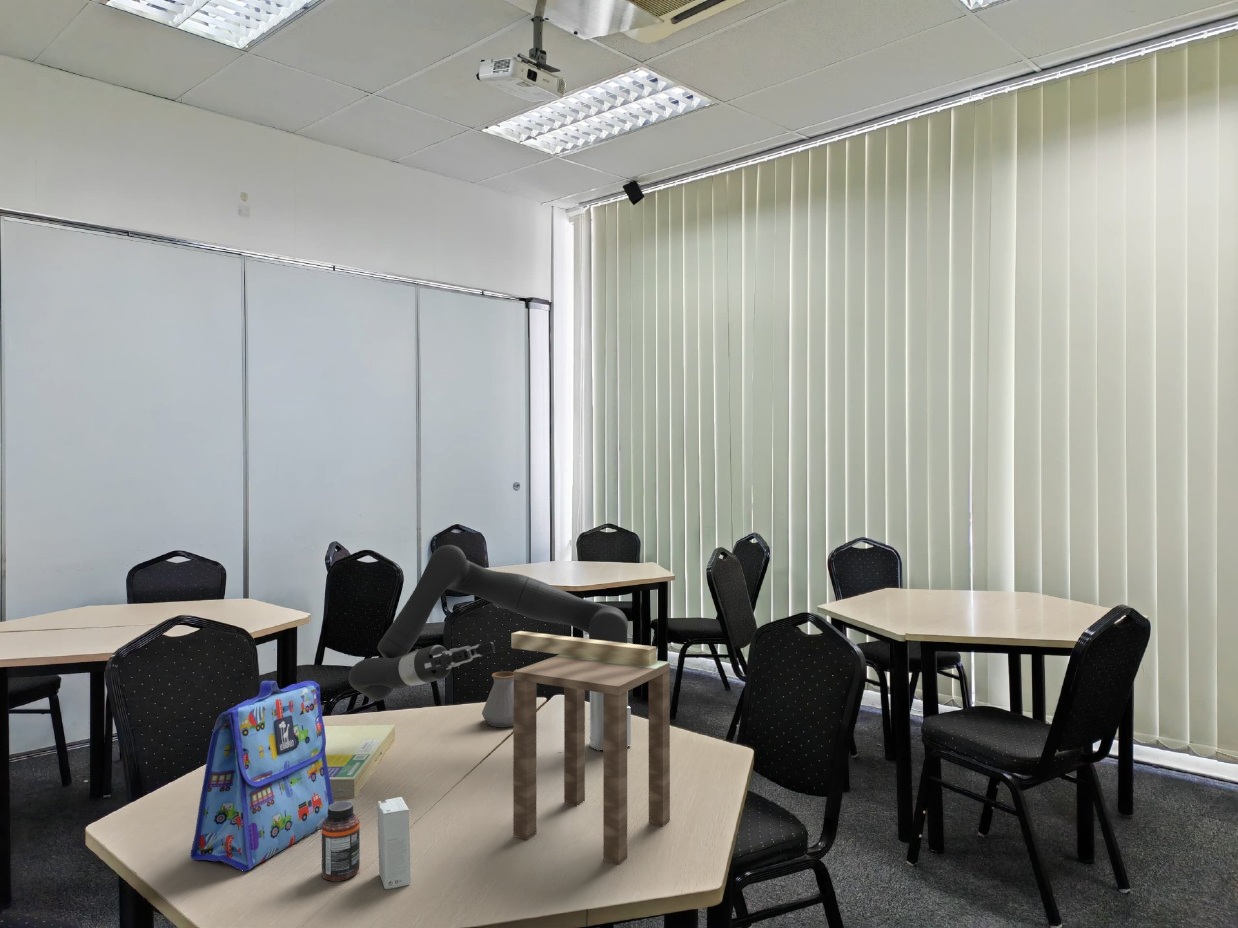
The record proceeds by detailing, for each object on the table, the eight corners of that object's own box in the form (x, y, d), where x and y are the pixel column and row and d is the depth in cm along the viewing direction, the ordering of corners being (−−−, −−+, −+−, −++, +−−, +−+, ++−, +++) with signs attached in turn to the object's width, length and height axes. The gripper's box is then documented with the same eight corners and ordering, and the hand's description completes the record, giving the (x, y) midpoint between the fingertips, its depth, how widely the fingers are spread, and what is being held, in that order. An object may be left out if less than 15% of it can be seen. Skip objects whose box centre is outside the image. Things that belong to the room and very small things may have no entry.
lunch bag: (249, 873, 133) (250, 698, 133) (187, 860, 137) (189, 691, 138) (338, 820, 153) (339, 669, 153) (281, 810, 158) (282, 663, 158)
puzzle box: (396, 742, 200) (298, 743, 199) (396, 724, 200) (298, 724, 199) (353, 802, 163) (233, 802, 163) (353, 779, 164) (233, 780, 163)
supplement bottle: (327, 865, 135) (327, 798, 136) (363, 864, 136) (363, 796, 136) (316, 883, 129) (317, 812, 130) (354, 881, 130) (354, 811, 130)
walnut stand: (513, 836, 146) (513, 670, 147) (572, 797, 164) (572, 649, 164) (618, 864, 136) (618, 686, 136) (669, 820, 153) (669, 661, 153)
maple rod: (511, 647, 166) (511, 633, 166) (520, 645, 169) (520, 630, 169) (649, 665, 151) (649, 649, 151) (656, 662, 153) (656, 646, 153)
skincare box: (411, 884, 129) (411, 808, 129) (383, 891, 127) (383, 814, 127) (404, 867, 135) (404, 795, 135) (376, 873, 133) (376, 799, 133)
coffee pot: (481, 730, 207) (481, 672, 207) (482, 717, 218) (482, 661, 218) (564, 726, 210) (564, 669, 210) (560, 713, 222) (560, 659, 222)
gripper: (398, 654, 173) (456, 638, 166) (441, 643, 185) (497, 627, 178) (406, 689, 171) (464, 674, 164) (449, 675, 184) (505, 660, 177)
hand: (481, 650), depth 171 cm, fingers open, 8 cm apart
